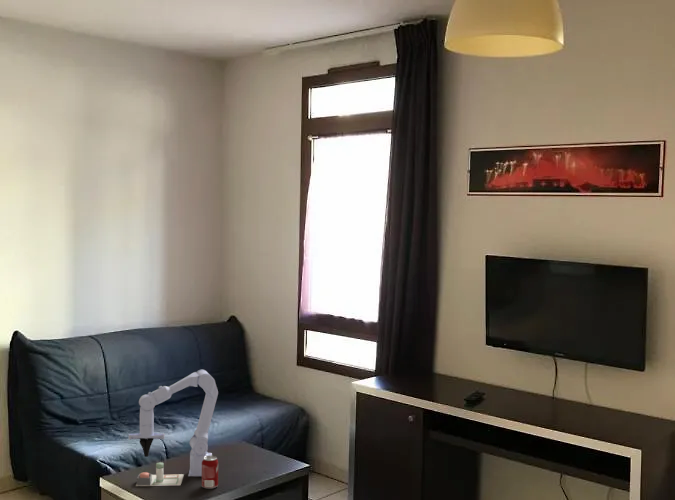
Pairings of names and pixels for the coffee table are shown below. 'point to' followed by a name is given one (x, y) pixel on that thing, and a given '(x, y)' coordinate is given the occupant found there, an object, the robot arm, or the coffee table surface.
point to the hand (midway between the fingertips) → (146, 456)
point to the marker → (159, 472)
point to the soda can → (210, 472)
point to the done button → (144, 475)
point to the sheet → (167, 480)
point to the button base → (144, 480)
